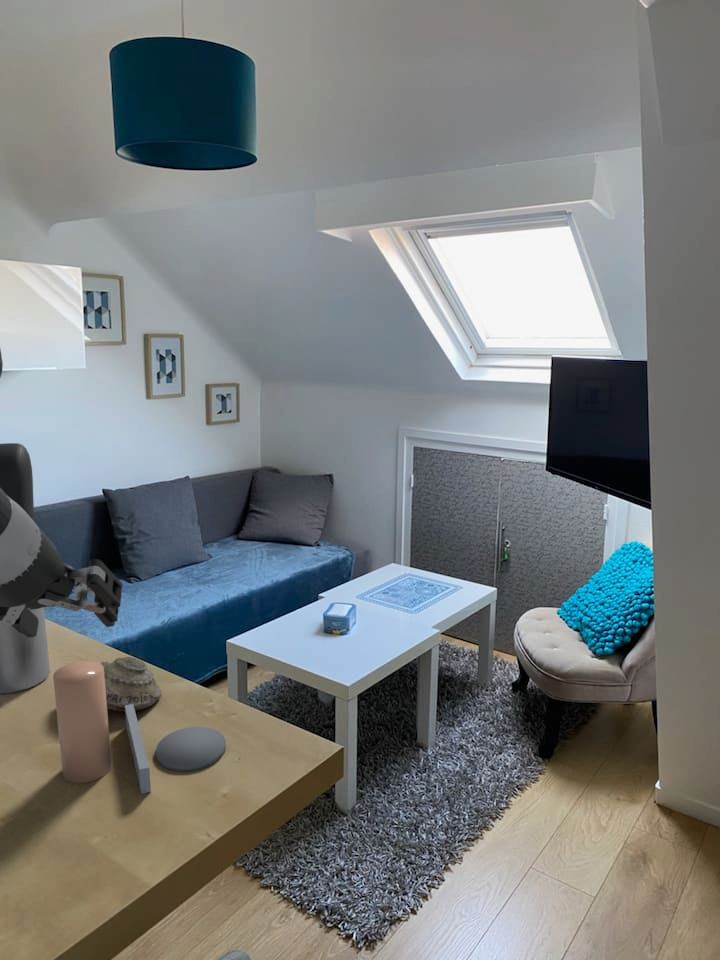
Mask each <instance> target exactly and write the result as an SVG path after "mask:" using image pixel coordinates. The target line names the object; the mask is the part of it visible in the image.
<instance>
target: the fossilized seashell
mask: <svg viewBox="0 0 720 960" xmlns="http://www.w3.org/2000/svg"><path fill="white" fill-rule="evenodd" d="M99 663H100V664H102V665H103V667H104V677H105V689H106V701H107V710H108V709H109V710H111V711H112V710H113V711H117V712H125V705H130V704H133V705H134V709H135V711H139V710H145V709H146V708H149V707H151V706H153V705H154V704H155V703H156V702H157V701H158V700H159V699H160V698H161V697H162V690H161V687H160V686H159V684H158V683H157V680H155V677H154V676H155V675H154V673H153V672H152V670H151V669H150V668H148V667H147V666H148V665H146V663H145V662H144V661H143V660H141V659H139V658H136V657H133V656H126V657H118V658H115V660H114V661H112V662H108V661H105V662H103V661H102V662H99Z"/></svg>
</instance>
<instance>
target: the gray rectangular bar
mask: <svg viewBox="0 0 720 960" xmlns="http://www.w3.org/2000/svg"><path fill="white" fill-rule="evenodd" d="M124 712H125V713H124V714H125V724H126V725H125V726H126V732H127V737H128V741H129V745H130V750H131V754H132V759H133V763H134V767H135V772H136V777H137V781H138V785H139V791H140V794H141V795H145V794H147V793H151V791H152V790H151V773H150V772H151V771H150V766H149V762H148V757H147V754H146V753H147V752H146V749H145V746H144V742H143V741H144V740H143V737H142V734H141V731H140V726H139V721H138V718H137V717H138V716H137V714H136V710H135V709H134V705H133V704H130V705H125V711H124Z"/></svg>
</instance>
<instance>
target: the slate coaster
mask: <svg viewBox="0 0 720 960" xmlns="http://www.w3.org/2000/svg"><path fill="white" fill-rule="evenodd" d="M226 746H227V744H226V738H225V736H224V734H222V733H221V732H220V731H219V730H217V729H214V728H210V727H206V726H191V727H190V726H188V727H185V728H181V729H177V730H175V731H172V732H169V734H167V735H165V736H164V737H163V738H161V739H160V741H158V743H157V746H156V749H155V753H156V754H155V755H156V760H157V762H158V763H159V764H160V765H161V766H162V767H164V768H166V769H168V770H172V771H179V772H192V771H197V770H200V769H204V768H207V767H208V766H211V765H213V764H214V763H216V762H217V761H219V760H220V759H221V758H222V757H223V755H224V754H225V752H226V748H227V747H226Z"/></svg>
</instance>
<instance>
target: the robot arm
mask: <svg viewBox="0 0 720 960" xmlns="http://www.w3.org/2000/svg"><path fill="white" fill-rule="evenodd" d="M2 356H3V355H2V351H1V348H0V378H1V376H2V373H3V366H4V365H3V357H2ZM31 460H32V459H31V457H30V454H29V451H28V449H27V448H26V447H25V446H24V445H23V444H21V443H15V442H14V443H13V442H10V443H9V442H8V443H0V694H9V693H10V694H11V693H15V692H20V691H23V690H26V689H30V688H32V687H34V686H37V685H38V684H40V683H41V682H43V681H44V680H46V678H48V676H49V675H50V673H51V669H50V658H49V656H50V655H49V649H48V648H49V647H48V636H47V635H48V634H47V625H46V616H45V607H47V608H48V607H49V608H51V607H52V608H53V607H58V608H62V609H66V610H69V611H73V612H75V613H76V612H79V611H81V610H85V611H89V612H93V613H94V616H96V618H97V619H99V620H100V621H101V622H102V624H103V625H104V626H105V627H107V628H109V627H115V624H116V622H118V617H119V608H120V607H121V602H122V592H123V583H122V581H120V579H119V578H118V577H117V576H116V575H115V574H114V573H113V571H111V570H110V568H108V567H107V566H106V564H104V562H103V561H102V560H101V559H97V558H92V559H89V561H88V567H83V568H76V569H75V567H73V566H71V565H69V564H67V563H65V562H63V560H62V558H61V557H62V556H61V555H60V553H59V551H58V548H57V547H56V545H55V544H54V543H53V542H52V541H51V539H50V538H49V537H48V536H47V535H46V534H45V533H44V531H43V530H42V529H41V528H40V527H39V526H38V525H37V523H36V522H35V508H34V507H35V506H34V504H35V503H34V479H33V466H32V462H31ZM74 588H75V591H74V598H73V599H72V598H70V595H71V593H72V591H73V590H74ZM88 594H92V595H94V598H93V599H94V600H93V601H92V600H90V599H88Z"/></svg>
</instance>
